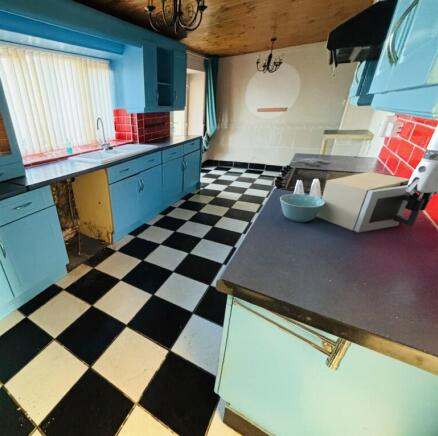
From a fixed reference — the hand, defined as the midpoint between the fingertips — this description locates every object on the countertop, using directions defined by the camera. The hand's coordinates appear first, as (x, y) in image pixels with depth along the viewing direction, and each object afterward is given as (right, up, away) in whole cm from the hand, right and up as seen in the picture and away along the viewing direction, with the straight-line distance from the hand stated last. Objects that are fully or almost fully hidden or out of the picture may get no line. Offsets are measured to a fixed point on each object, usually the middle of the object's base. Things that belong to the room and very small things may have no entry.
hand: (414, 209), depth 82 cm
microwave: (-6, -3, +15) cm, 17 cm away
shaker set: (-13, +6, +36) cm, 39 cm away
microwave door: (-6, -8, +4) cm, 11 cm away
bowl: (-29, -3, +19) cm, 35 cm away
